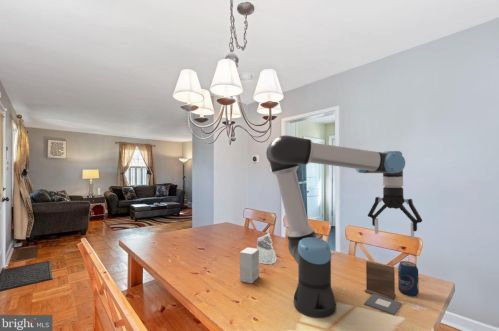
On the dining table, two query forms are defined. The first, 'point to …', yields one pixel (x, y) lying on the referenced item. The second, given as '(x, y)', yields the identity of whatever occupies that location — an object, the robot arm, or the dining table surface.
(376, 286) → the walnut screen
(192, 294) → the dining table surface
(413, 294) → the soda can
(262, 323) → the dining table surface
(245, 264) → the small box
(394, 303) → the pad
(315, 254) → the robot arm
